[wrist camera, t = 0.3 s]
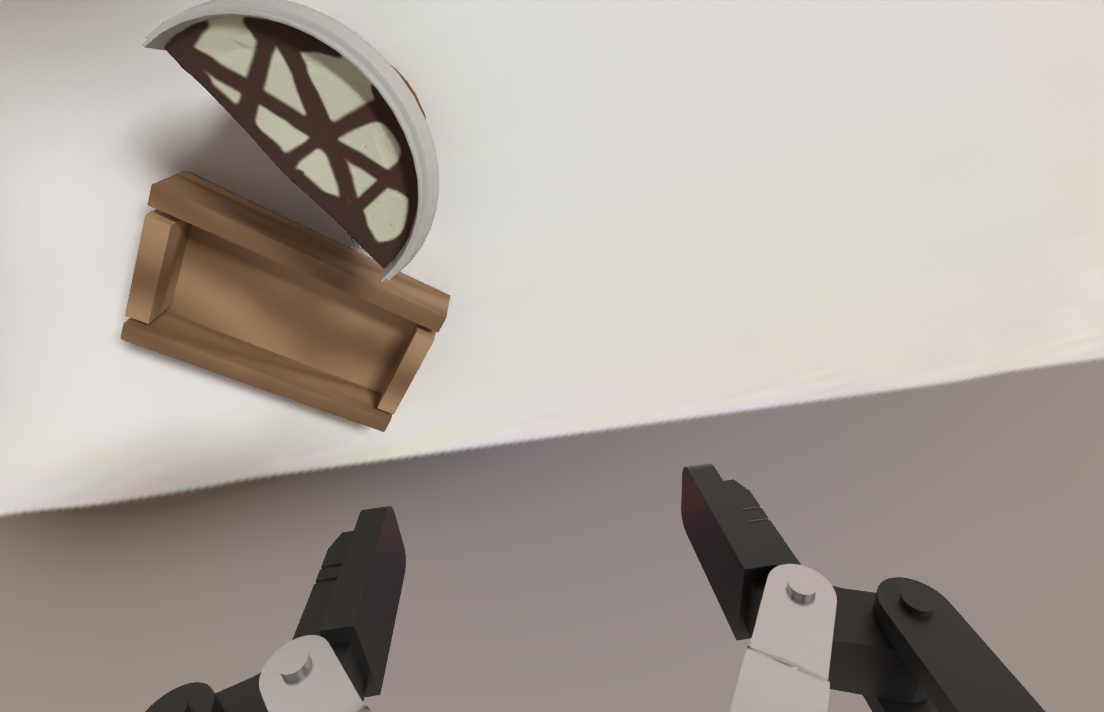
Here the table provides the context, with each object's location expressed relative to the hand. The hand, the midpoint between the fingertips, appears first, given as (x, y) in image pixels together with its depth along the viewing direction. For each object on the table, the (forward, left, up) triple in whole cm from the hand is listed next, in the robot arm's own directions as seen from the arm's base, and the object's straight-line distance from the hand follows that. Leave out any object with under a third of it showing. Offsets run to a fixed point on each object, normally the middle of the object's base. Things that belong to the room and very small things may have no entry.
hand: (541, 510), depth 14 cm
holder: (+11, -10, -22) cm, 27 cm away
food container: (-3, -10, -23) cm, 25 cm away
